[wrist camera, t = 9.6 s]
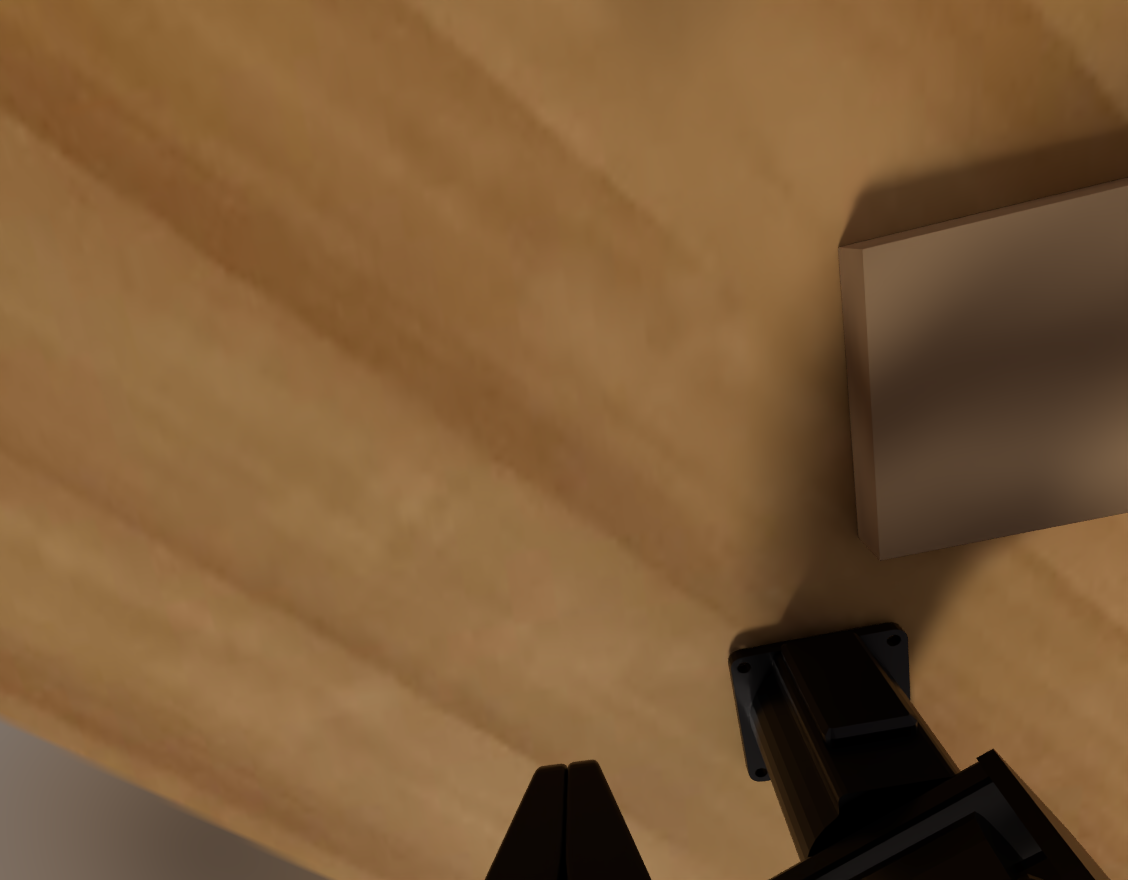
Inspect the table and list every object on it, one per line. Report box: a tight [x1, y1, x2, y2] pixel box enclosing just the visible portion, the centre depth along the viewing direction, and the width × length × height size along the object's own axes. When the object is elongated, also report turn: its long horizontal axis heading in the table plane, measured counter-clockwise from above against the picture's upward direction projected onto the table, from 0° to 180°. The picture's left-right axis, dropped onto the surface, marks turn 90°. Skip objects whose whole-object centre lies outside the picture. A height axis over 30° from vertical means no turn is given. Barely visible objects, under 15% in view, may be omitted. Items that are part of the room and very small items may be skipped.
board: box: [838, 177, 1128, 561], centre depth 17 cm, size 10×14×2 cm
